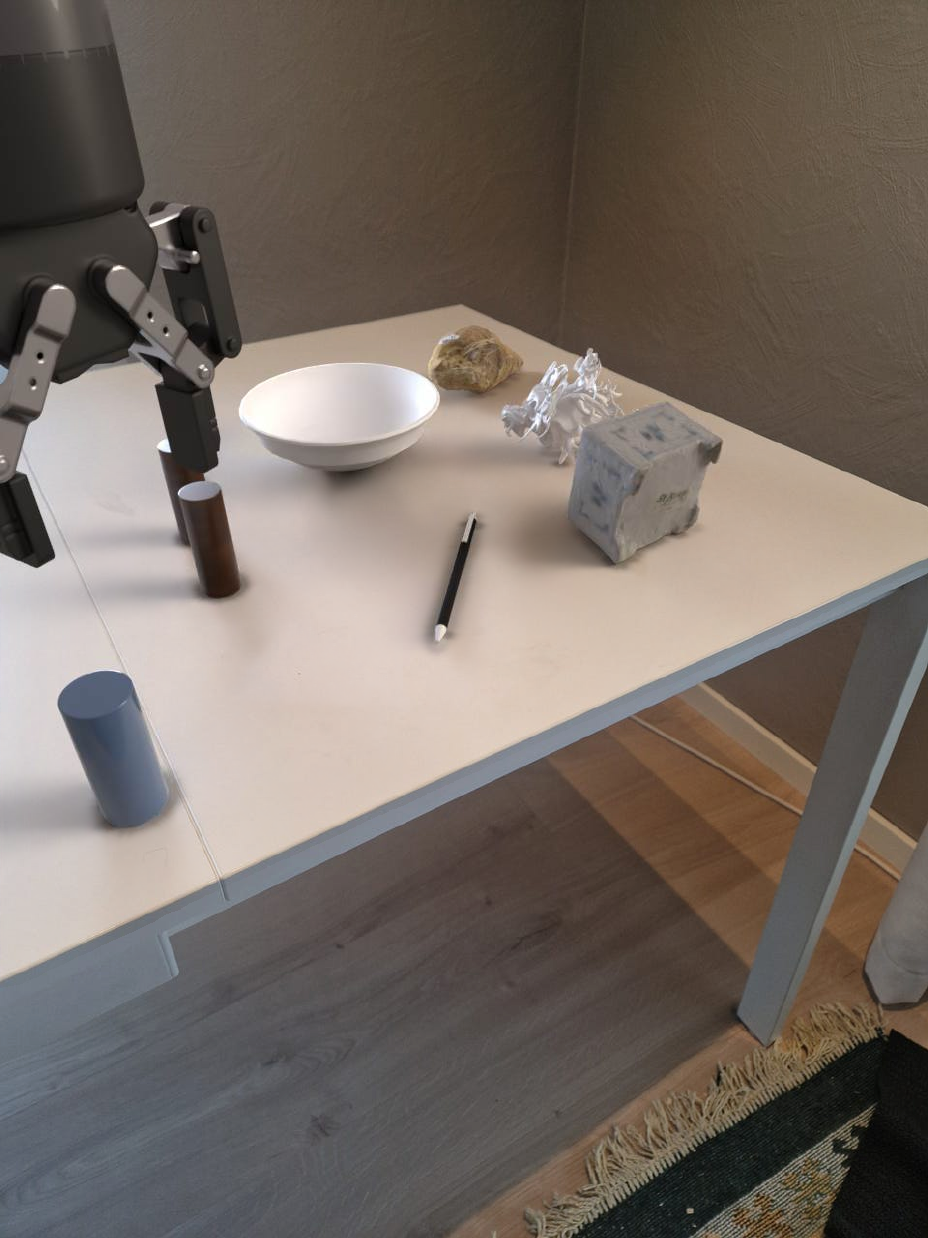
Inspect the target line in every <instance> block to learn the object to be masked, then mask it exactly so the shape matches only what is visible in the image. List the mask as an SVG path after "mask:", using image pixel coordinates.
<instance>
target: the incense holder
mask: <svg viewBox="0 0 928 1238" xmlns="http://www.w3.org/2000/svg"><path fill="white" fill-rule="evenodd" d="M648 406H649V407H647V406H646V407H644V408H641V409H638V411H636V410H635V411H633V412H632V411H631V412H629V413H626V414H624V415H620V416H619V417H616V416H615V417H616V418H611V419H608V420H604V421H601V422H598V423H595V424H591V425H588V426H586V427H585V428H584V429H583V430H582V432H581V436H580V439H579V446H578V447H579V449H578V451H577V454H576V458H575V459H576V464H574V465H575V466H574V473H573V477H572V484H571V488H570V492H569V498H568V503H567V509H566V518H567V520H568V521H569V522H570V523H571V524H572V525H573V526H574V527H575V528H577V529H578V530H579V531H581V532H582V533H583V534H585V535H586V536H587V537H588V538H589V539H590V540H591V541H592V542H593V543H595V544H596V545H597V546H599V547H600V549H601V550H602V551H603V552H604V554H606V555H607V556H608V557H609V558H610V560H612V562H613V563H614V564H616V565H617V564H618V565H619V564H620V563H622V562H625V561H627V560H628V559H630V558H632V557H633V556H634V554H635V553H636V551H637V550H639V549H641V548H644V547H647V546H648V545H650V544H653V543H654V542H656V541H658V540H660V539H662V537H664V536H669V535H671V534H676V535H678V534H681V533H683V532H684V531H686V530H688V529H690V528H691V527H693V525H695V524H696V523H697V521H698V519H699V514H700V512H701V511H700V510H701V508H700V502H699V500H700V499H699V497H700V492H701V489H702V486H703V482H704V479H705V476H706V472H707V469H708V467H709V465H710V463H712V464H713V465H715V464H717V463H718V462H719V460H720V458H721V454H722V450H723V444H724V439H723V438H721V436H718V435H717V434H716V433H714V432H713V431H712V430H711V429H709V428H708V427H706V426H705V425H703V424H702V423H700V422H699V421H697V420H695V419H694V418H692V417H690V416H689V415H688V414H687V413H686V412H684V411H682V410H680V408H678V407H677V406H675V405H674V404H673V403H672V402H670V401H662V402H659V403H656V404H653V405H648Z"/></svg>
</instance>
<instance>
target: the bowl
mask: <svg viewBox="0 0 928 1238" xmlns="http://www.w3.org/2000/svg"><path fill="white" fill-rule="evenodd" d="M439 392H440V391H439V390H438V389H437V387H436V385H435V383H434V382H432V381H431V380H429V379H428V378H427V377H425V376H423V375H421V374H420V373H418V372H416V371H412V370H409V369H406V368H402V367H398V366H393V365H388V364H381V363H371V362H340V363H338V362H337V363H327V364H319V365H313V366H307V367H302V368H298V369H295V370H291V371H287V372H284V373H281V374H278V375H276V376H273V377H270V378H268V379H267V380H265V381H263V382H261V383H258V384H257V385H255V386H254V387H253V388H251V389H250V390H249V391H248V392H247V393H246V394H245V395H244V397H242V398H241V402H240V404H239V408H238V415H239V419H240V421H242V423H243V425H244V426H245V427H246V428H248V429H249V430H250V431H252V432H253V433H255V435H256V437H257V438H258V440H259V442H260V443H261V445H262V446H263V448H264V449H265V450H267V451H268V452H270V453H271V454H272V455H274V456H277V457H279V458H281V459H283V460H287V461H289V462H293V463H295V464H297V465H300V466H302V467H305V468H309V469H311V470H312V469H313V470H318V471H326V472H335V473H336V472H339V473H341V472H352V471H359V470H364V469H367V468H370V467H374V466H376V465H379V464H382V463H384V462H386V461H388V460H390V459H392V458H393V457H395V456H397V455H398V454H399V453H400V452H402V451H405V450H406V449H408V448H410V447H411V446H413V445H414V444H416V443H417V442H418V440H420V438H421V437H422V436H424V433H425V430H426V428H427V425H428V422H429V420H430V418H431V417H432V416H433V414H435V412H436V411H437V410H438V408H439V406H440V402H441V401H440V400H441V399H440V393H439Z"/></svg>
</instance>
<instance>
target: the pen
mask: <svg viewBox="0 0 928 1238" xmlns="http://www.w3.org/2000/svg"><path fill="white" fill-rule="evenodd" d="M476 515H477V511H475V510H473V511H472V512H471V514H469V515H468V517H467V519H466V522H465V526H464V529H463V533H462V536H461V540H460V543H459V546H458V550H457V552H456V557H455V559H454V563H453V567H452V570H451V573H450V577H449V580H448V584H447V586H446V590H445V594H444V597H443V600H442V603H441V607H440V611H439V614H438V617H437V621H436V624H435V628H434V632H435V633H434V635H435V644H439V643H440V642H441V640H442V638H443V637H444V636H445V634H446V632H447V630H448V626H449V623H450V619H451V616H452V612H453V608H454V605H455V602H456V598H457V594H458V589H459V587H460V583H461V580H462V576H463V572H464V569H465V566H466V562H467V558H468V554H469V551H470V548H471V544H472V541H473V537H474V533H475V531H476V530H475V529H476V527H477V526H476V525H477V522H478V519H477V517H476Z"/></svg>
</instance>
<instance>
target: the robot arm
mask: <svg viewBox="0 0 928 1238" xmlns="http://www.w3.org/2000/svg"><path fill="white" fill-rule="evenodd" d="M107 4H108V3H107V0H0V366H2V367H3V368H4V369H6V370H7V375H6V377H5V379H3V381H2V382H1V383H0V554H2V555H4V556H6V557H9V558H11V559H13V560H14V561H18V562H21V563H23V564H25V565H28V566H30V567H32V568H33V569H39V568H40V567H42V566H44V565H46V564H48V563H49V562H51V561H53V560H55V558H56V553H55V549H54V546H53V544H52V541H51V539H50V535H49V533H48V530H47V527H46V524H45V522H44V519H43V516H42V513H41V511H40V507H39V505H38V502H37V499H36V497H35V494H34V491H33V488H32V485H31V483H30V480H29V477H28V475H27V473H24V472H22V471H20V470H19V471H18V470H17V468H18V464H19V460H20V457H21V453H22V450H23V446H24V443H25V439H26V435H27V431H28V428H29V426H30V424H31V423H32V422H35V421H36V420H38V419H39V418H40V417H41V415H42V412H43V410H44V406H45V404H46V399H47V396H48V392H49V390H50V385H51V383H53V384H57V385H62V384H65V383H68V382H70V381H72V380H75V379H77V378H80V377H81V376H82V375H83V374H84V373H86V372H87V371H88V370H90V369H91V368H92V367H93V366H95V365H105V364H106V365H107V364H115V363H117V362H120V361H123V360H124V359H127V358H129V357H130V353H132V355H133V356H135V357H136V358H137V359H138V360H139V361H140V362H141V363H143V364H144V365H145V366H146V367H147V368H148V369H149V370H151V371H152V372H153V373H154V374H155V375H157V376H158V377H160V378H162V381H160V382H158V383H156V384H154V389H155V393H156V398H157V402H158V406H159V410H160V413H161V417H162V422H163V426H164V430H165V434H166V439H168V442H169V447H170V451H171V455H172V457H173V459H174V461H175V462H176V463H177V464H178V465H179V466H181V467H184V468H187V469H190V470H193V471H196V472H199V473H202V474H204V475H205V474H206V473H208V472H210V471H212V470H213V469H215V468H217V467H218V466H219V463H220V461H219V456H218V455H219V454H218V452H220V449H221V440H222V439H221V435H220V434H221V433H220V429H219V427H218V426H219V425H218V420H217V415H216V409H215V405H214V399H213V394H212V390H211V389H212V388H211V384H212V383H213V381H214V379H215V375H216V368H217V367H218V366H219V365H220V364H221V363H222V362H223V361H224V359H230V360H231V359H235V358H237V357H238V356H239V355H240V353H241V351H242V347H243V339H242V333H241V328H240V325H239V321H238V315H237V311H236V306H235V302H234V297H233V293H232V288H231V285H230V280H229V275H228V270H227V266H226V262H225V257H224V252H223V248H222V244H221V239H220V238H221V237H220V235H219V230H218V226H217V225H218V224H217V221H216V217H215V215H214V213H213V211H212V210H210V209H209V208H208V207H203V206H198V205H197V206H196V205H189V204H183V203H175V202H169V201H164V200H163V201H162V200H157V201H155V202H153V203H152V205H151V206H150V208H149V211H148V215H147V216H144V214H143V212H142V211H141V208H140V206H139V204H138V200H139V198H140V197H141V196H142V194H143V193H144V189H145V185H146V180H145V173H144V171H143V170H144V169H143V165H142V160H141V157H140V151H139V146H138V142H137V137H136V133H135V128H134V123H133V120H132V119H133V118H132V115H131V109H130V105H129V101H128V96H127V92H126V87H125V82H124V78H123V72H122V69H121V65H120V60H119V59H120V58H119V55H118V51H117V50H118V49H117V45H116V41H115V37H114V31H113V27H112V22H111V19H110V14H109V9H108V5H107ZM157 264H158V266H159V267H161V270H162V274H163V277H164V280H165V285H166V289H167V291H168V292H167V293H168V296H169V300H170V303H171V308H172V312H173V315H172V314H171V313H170V312H169V311H168V310H167V309H166V308H165V307H164V306H163V305H162V304H161V303H160V302H159V301H158V300H157V299H156V298H155V297H154V296H153V295H152V294H151V293H150V289H151V286H152V283H153V278H154V275H155V271H156V267H157Z"/></svg>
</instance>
